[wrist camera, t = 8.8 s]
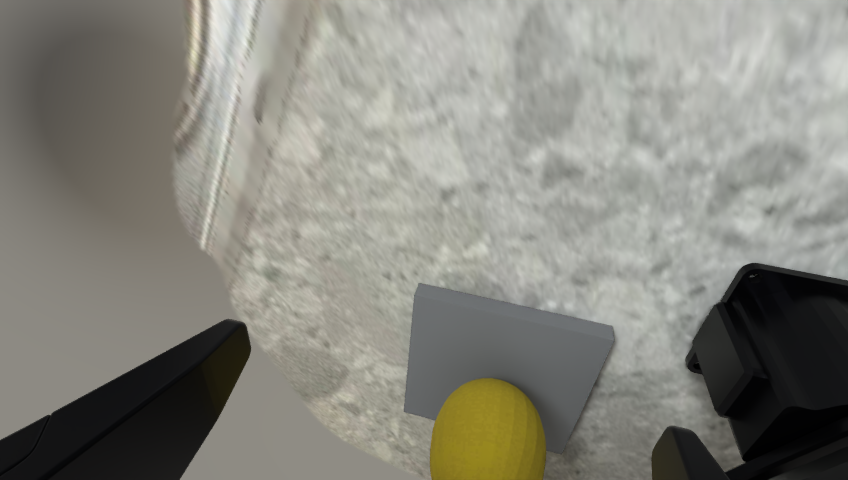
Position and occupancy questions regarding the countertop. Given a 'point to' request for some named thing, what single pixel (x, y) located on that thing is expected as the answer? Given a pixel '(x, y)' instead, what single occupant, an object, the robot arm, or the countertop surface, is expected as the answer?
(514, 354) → the mat
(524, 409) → the lemon
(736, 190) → the countertop surface
